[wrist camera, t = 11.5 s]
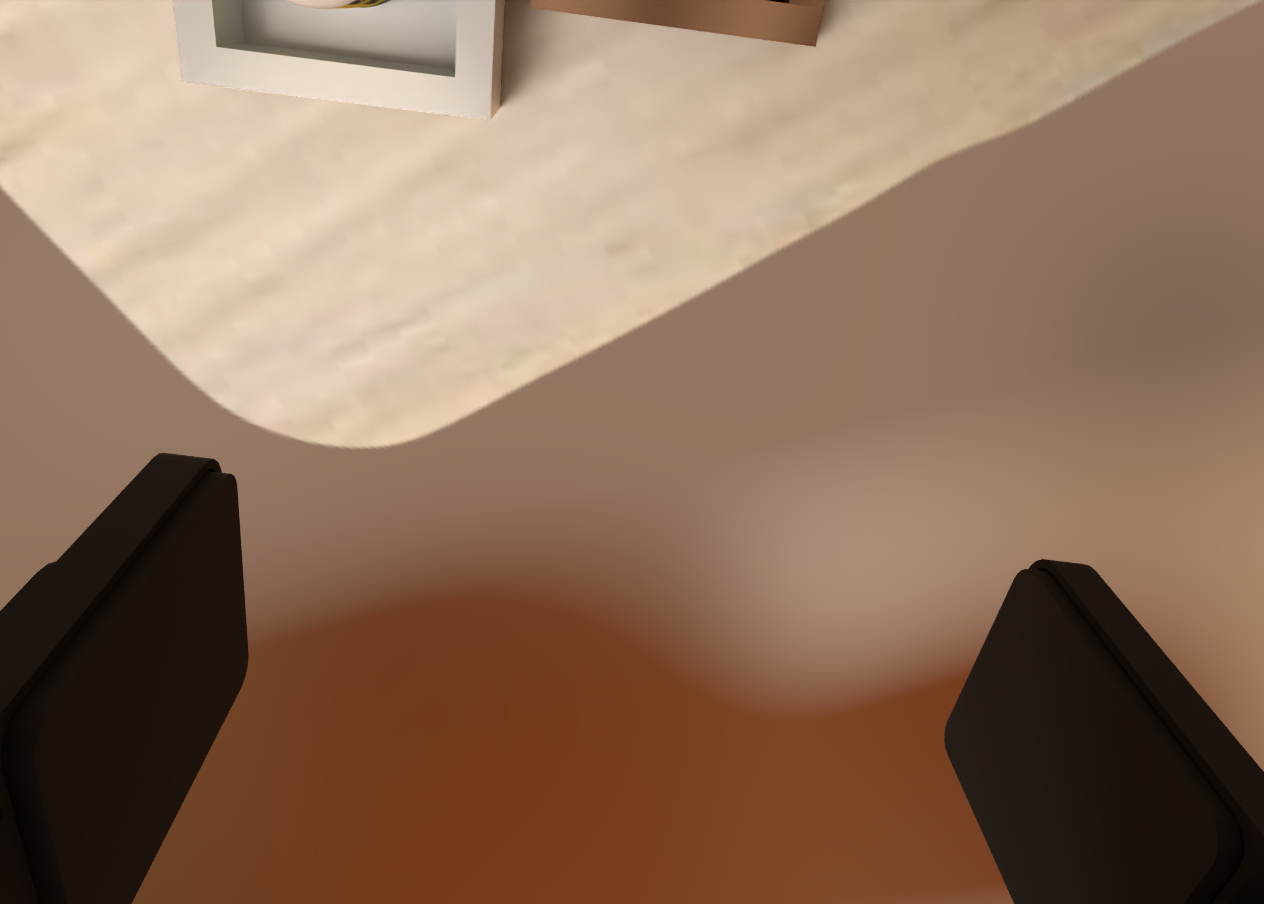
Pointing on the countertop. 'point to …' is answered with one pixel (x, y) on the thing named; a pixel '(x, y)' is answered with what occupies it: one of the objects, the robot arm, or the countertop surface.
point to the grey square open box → (350, 52)
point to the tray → (710, 15)
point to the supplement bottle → (338, 3)
